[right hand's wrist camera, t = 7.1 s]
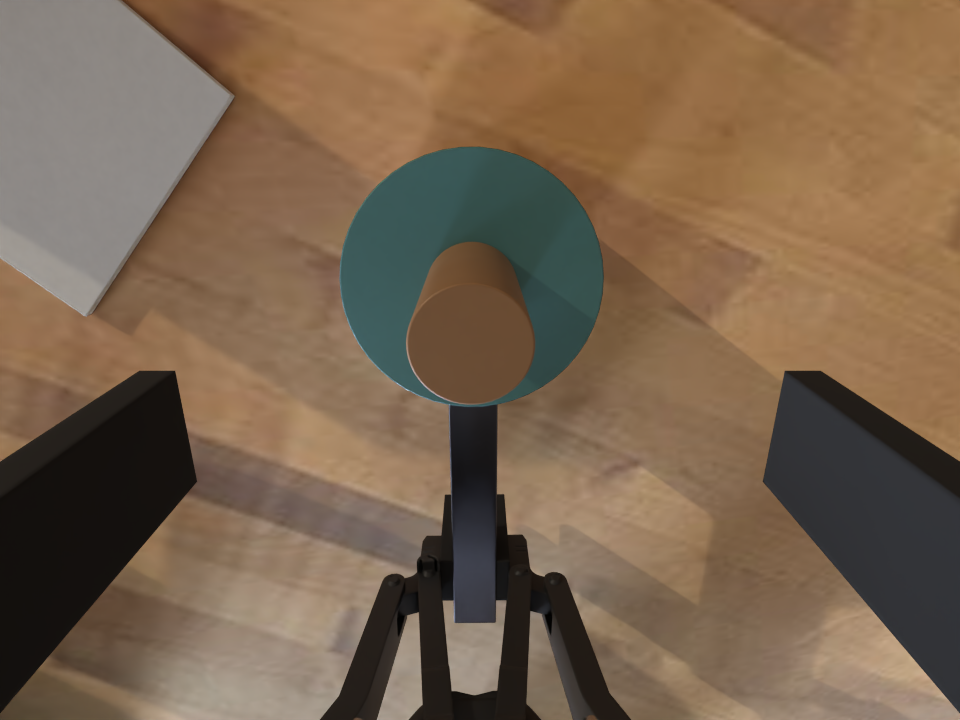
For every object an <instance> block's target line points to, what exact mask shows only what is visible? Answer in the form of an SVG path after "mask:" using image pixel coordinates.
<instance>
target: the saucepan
mask: <svg viewBox="0 0 960 720" xmlns="http://www.w3.org/2000/svg"><path fill="white" fill-rule="evenodd" d="M449 431H450V471H451V511H452V551H453V585H454V622H455V623H495V622H496V523H497V404H496V405H489V406H475V407H465V406H455V405H449Z"/></svg>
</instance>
